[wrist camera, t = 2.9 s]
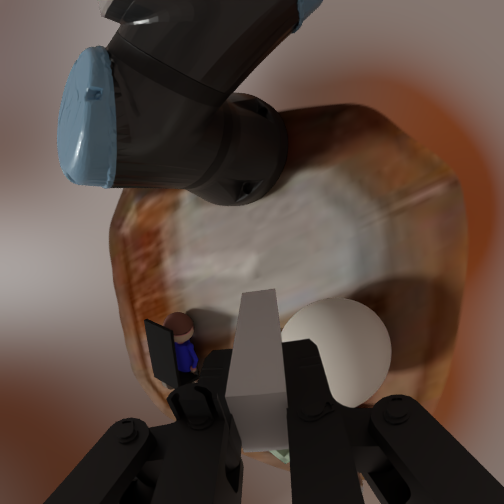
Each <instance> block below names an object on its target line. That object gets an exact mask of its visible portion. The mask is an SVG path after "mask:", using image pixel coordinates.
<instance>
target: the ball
mask: <svg viewBox="0 0 504 504" xmlns="http://www.w3.org/2000/svg"><path fill="white" fill-rule="evenodd" d="M281 336H282V342H289V341H295V340H302V339H310V340H311V341H313V342H314V343H315V344H316V345H317V347H318V350H319V353H320V357H321V360H322V364H323V367H324V370H325V374H326V377H327V381H328V384H329V388H330V391H331V394H332V396H333V398H334V399H335V400H336V401H337V402H339V403H340V404H342V405H344V406H347V407H351V408H354V407H356V406H358V405H360V404H362V403H363V402H365V401H366V400H368V399H369V398H370V397H371V396H372V395H373V394H374V393H375V392H376V391H377V390H378V389H379V387H380V386H381V384H382V383H383V381H384V380H385V377H386V375H387V373H388V370H389V367H390V363H391V342H390V337H389V334H388V331H387V329H386V327H385V325H384V323H383V322H382V321H381V319H380V318H379V317H378V316H377V315H376V314H375V312H373V311H372V310H371V309H370V308H368V307H367V306H365V305H363V304H361V303H359V302H357V301H354V300H350V299H345V298H327V299H323V300H319V301H316V302H313V303H311V304H309V305H307V306H305V307H304V308H302V309H301V310H299V311H298V312H297V313H296V314H295V315H294V316H293V317H292V318H291V319H290V320H289V321H288V322H287V324H286V325H285V327H284V328H283V330H282V332H281Z"/></svg>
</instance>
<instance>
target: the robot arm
mask: <svg viewBox="0 0 504 504" xmlns="http://www.w3.org/2000/svg"><path fill="white" fill-rule="evenodd" d="M322 1H323V0H98V4H99V8H100V12H101V16H102V17H104V18H107V19H110V20H113V21H115V22H118V23H120V24H121V25H120V27H119V29H118V30H117V32H116V34H115V35H114V37H113V38H112V40H111V41H110V43H109V44H108V46H107V47H106V48H104V47H103V46H96V47H89V48H87V49H85V50H84V51H83V52H82V53H81V54H80V56H79V58H78V60H76V62H75V63H74V65H73V67H72V69H71V72H70V74H69V77H68V79H67V82H66V85H65V89H64V92H63V97H62V101H61V106H60V111H59V118H58V131H57V147H58V156H59V162H60V166H61V168H62V170H63V173H64V175H65V176H66V177H67V179H69V180H70V181H71V182H73V183H75V184H78V185H88V186H101V187H103V188H170V189H186V190H188V191H190V192H191V193H193V194H195V195H197V196H199V197H201V198H202V199H204V200H206V201H208V202H210V203H213V204H216V205H221V206H241V205H246V204H249V203H251V202H254V201H256V200H257V199H259V198H260V197H262V196H263V195H264V194H266V193H267V192H268V191H269V190H270V189H271V188H272V186H273V185H274V184H275V182H276V181H277V179H278V178H279V176H280V174H281V172H282V170H283V167H284V165H285V161H286V157H287V151H288V137H287V131H286V128H285V125H284V122H283V120H282V118H281V117H280V115H279V114H278V112H277V111H276V110H275V109H274V108H273V107H272V106H270V105H269V104H267V103H266V102H264V101H263V100H261V99H259V98H257V97H255V96H253V95H249V94H245V93H233V92H234V91H235V90H236V89H237V87H238V86H239V85H240V84H241V83H242V82H243V81H244V80H245V79H246V78H247V77H248V76H249V74H250V73H251V72H252V71H253V70H254V69H255V68H256V67H257V66H258V65H259V64H260V63H261V62H262V61H263V60H264V59H265V58H266V57H267V56H268V55H269V54H270V53H271V52H272V51H273V50H274V49H275V48H276V47H277V46H278V45H279V44H280V43H281V42H282V41H283V40H285V39H286V38H287V37H288V36H289V35H290V34H291V33H295V32H296V31H297V30H298V29H299V28H300V27H301V25H302V23H303V21H304V20H305V19H306V18H307V17H308V16H309V15H310V14H311V13H313V12H314V11H315V10H316V9H317V8H318V7H319V6H320V5H321V3H322ZM167 402H168V404H169V406H170V408H171V410H172V412H173V414H174V416H175V417H176V419H177V420H176V422H174V423H171V424H167V425H162V426H156V427H151V428H148V426H147V425H146V423H145V422H144V421H142V420H140V419H136V418H127V419H122V420H120V421H118V422H116V423H115V424H113V425H112V426H111V427H110V428H109V429H108V430H107V432H106V433H105V434H104V435H103V436H102V437H101V438H100V439H99V441H98V442H97V443H96V444H95V445H94V446H93V448H92V449H91V450H90V451H89V452H88V453H87V454H86V456H85V457H84V458H83V459H82V460H81V461H80V462H79V464H78V465H77V466H76V467H75V468H74V469H73V470H72V472H71V473H70V474H69V475H68V476H67V477H66V478H65V480H64V481H63V482H62V483H61V484H60V485H59V486H58V487H57V489H56V490H55V491H54V492H53V493H52V494H51V495H50V497H49V498H48V499H47V500H46V501H45V502H44V503H43V504H241V497H242V483H243V468H244V467H243V462H242V459H241V446H242V448H243V450H244V452H260V451H273V450H283V449H289V458H290V473H291V488H292V504H365V503H364V499H363V495H362V491H361V486H360V482H359V478H358V474H357V473H362V475H363V477H364V478H365V480H366V481H367V483H368V484H369V486H370V487H371V489H372V491H373V492H374V494H375V495H376V497H377V498H378V500H379V501H380V503H381V504H504V487H503V486H502V485H501V484H500V483H499V482H498V481H497V480H496V479H495V478H494V477H493V476H492V475H491V474H490V473H489V472H488V471H487V470H486V469H485V468H484V467H483V466H482V465H481V464H480V463H479V462H478V461H477V460H476V459H475V458H474V457H473V456H472V455H471V454H470V453H469V452H468V451H467V450H466V449H465V448H464V447H463V446H462V445H461V444H460V443H459V442H458V441H457V440H456V439H455V438H454V437H453V436H452V435H451V434H450V433H449V432H448V431H447V430H446V429H445V428H444V427H443V426H442V425H441V424H440V423H439V422H438V421H437V420H436V419H435V418H434V417H433V416H432V415H431V414H430V413H429V412H428V411H427V410H426V409H425V408H424V407H423V406H421V405H420V404H419V403H418V402H417V401H416V400H414V399H413V398H411V397H409V396H405V395H390V396H387V397H384V398H382V399H381V400H379V401H378V402H377V403H376V404H375V405H374V407H373V408H351V407H347V406H344V405H342V404H340V403H339V402H337V401H336V400H335V399H334V398H333V396H332V394H331V391H330V388H329V384H328V381H327V377H326V374H325V370H324V367H323V364H322V360H321V357H320V353H319V350H318V347H317V345H316V344H315V343H314V342H313V341H311V340H310V339H302V340H295V341H289V342H282V336H281V328H280V321H279V313H278V306H277V298H276V291H275V289H269V290H262V291H254V292H246V293H242V297H241V303H240V309H239V315H238V321H237V327H236V333H235V339H234V345H233V349H225V350H213V351H212V352H211V353H210V354H209V355H208V356H207V357H206V358H205V360H204V363H203V367H202V370H201V373H200V378H199V380H198V383H189V384H185V385H183V386H180V387H178V388H176V389H175V390H174V391H172V392H171V393H170V394H169V396H168V397H167Z"/></svg>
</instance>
